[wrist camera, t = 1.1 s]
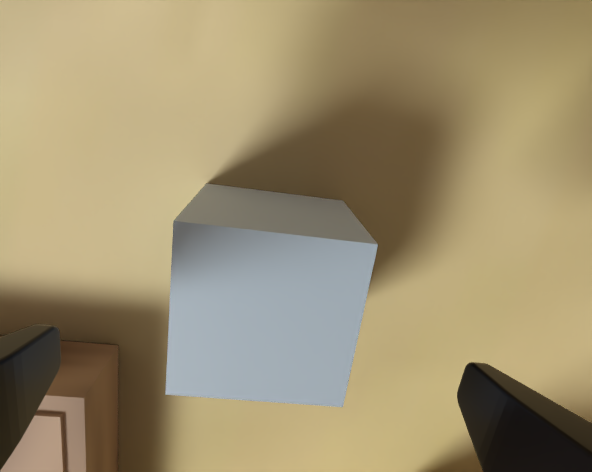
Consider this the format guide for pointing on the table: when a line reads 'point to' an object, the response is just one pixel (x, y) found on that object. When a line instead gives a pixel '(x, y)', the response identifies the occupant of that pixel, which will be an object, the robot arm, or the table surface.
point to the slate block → (266, 296)
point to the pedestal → (75, 416)
